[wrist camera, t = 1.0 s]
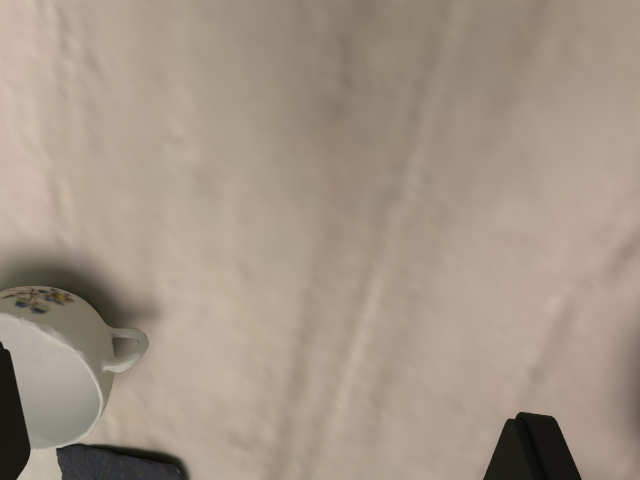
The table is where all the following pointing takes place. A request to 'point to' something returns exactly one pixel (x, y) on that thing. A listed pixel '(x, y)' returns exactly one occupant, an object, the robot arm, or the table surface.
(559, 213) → the table surface
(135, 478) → the dark slate chunk
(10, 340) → the teacup
